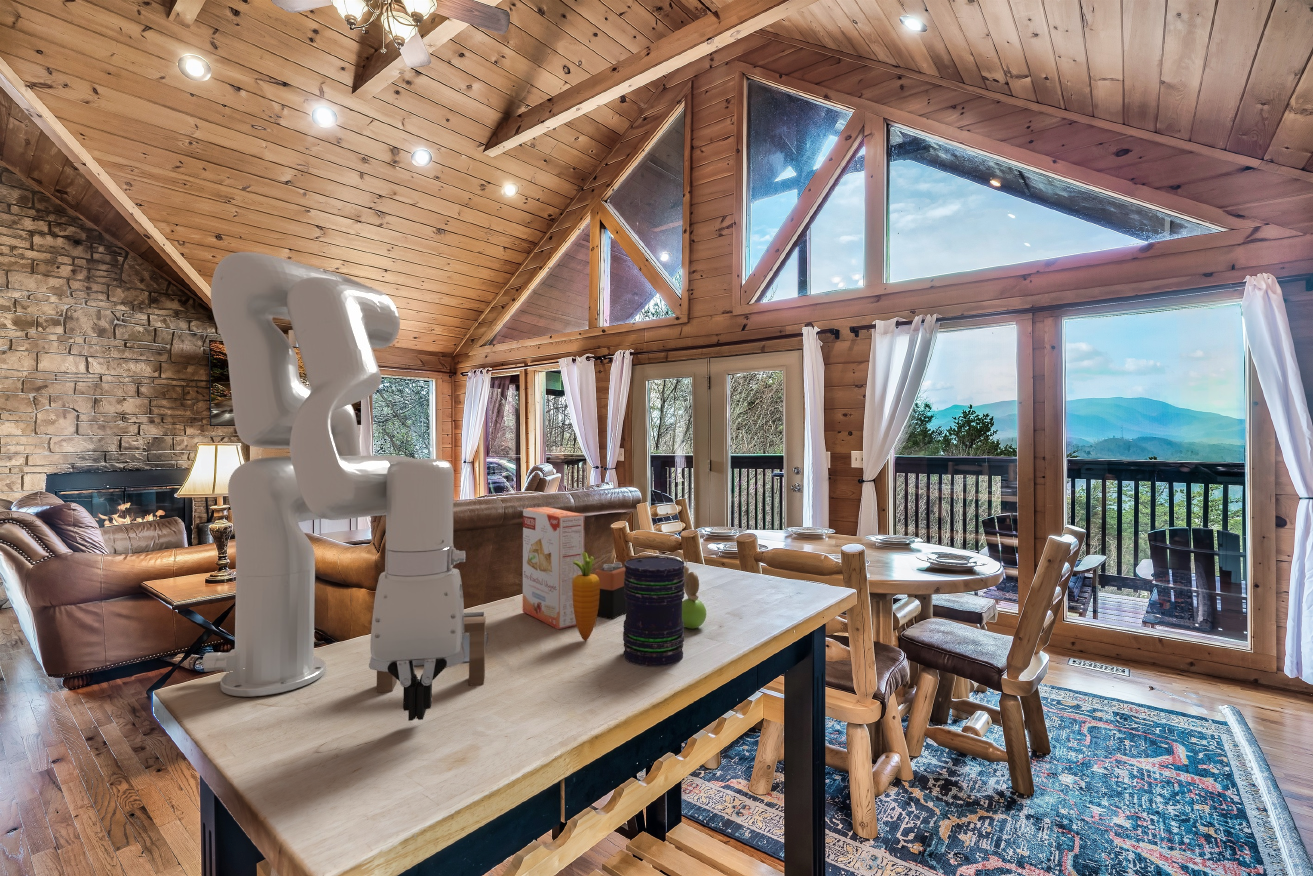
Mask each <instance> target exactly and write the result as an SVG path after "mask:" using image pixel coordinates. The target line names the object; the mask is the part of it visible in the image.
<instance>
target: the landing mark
mask: <svg viewBox="0 0 1313 876" xmlns="http://www.w3.org/2000/svg"><path fill="white" fill-rule="evenodd" d="M488 636H489V633H486V632H485V650H486V648H487V643H488V638H489V637H488ZM469 638H470V633H469V634H464V640H463V642H462V643H463V647H464V651H465V660H464V662H463V663H462V664H465V663H469ZM413 663H414V667H419V666H424V663H425V660H413Z"/></svg>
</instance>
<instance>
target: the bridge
mask: <svg viewBox="0 0 1313 876" xmlns="http://www.w3.org/2000/svg"><path fill="white" fill-rule="evenodd" d="M486 620H487V619H486V616H485V615H484V616H483V617H464V633H469V634H470V638H469V662H468V686H478V685H479V686H480V685H484V684H485V678H486V649H485V634H486V626H487V625H486ZM397 682H398V680H397V679H396V678H395V677H394V676H393V675H391V674H390V673H389V672H387V671H385V672H384V671H378V670H376V693H384V692H385V693H386V692H393V691H394V689H395V687H396V685H397Z"/></svg>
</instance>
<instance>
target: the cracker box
mask: <svg viewBox="0 0 1313 876" xmlns="http://www.w3.org/2000/svg"><path fill="white" fill-rule="evenodd" d="M584 552H585V514H583V513H578V512H573V511H568V510H563V509H559V508H554V507H548V506H542V507H540V506H539V507H526V508H523V509H522V612H523V613H525V614H527V615H529V616H531V617H533V618H535V619H537V620H539V621H541V622H543V623H545V624H547V625H549V626H551V627H553V628H555V629H556V630H562V629H566V628H570V627H575V626H577V625H576V620H575V615H574V608H573V594H572V581H573V578H574V577H575V576H576V575H579V574H582V572H581V570H580V569H579V567H578V566H577V565H575V564H573V561H578V562H580V564H584V565H585V563H584V560H583V556H582V553H584Z"/></svg>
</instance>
